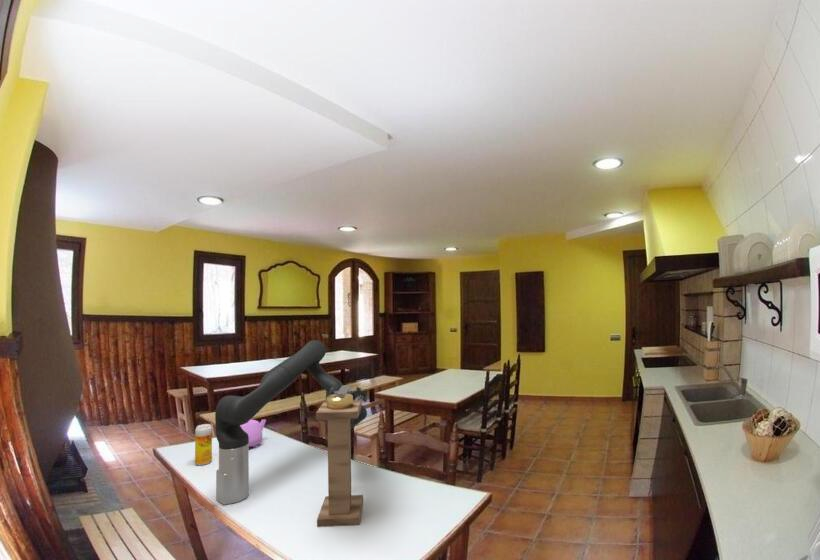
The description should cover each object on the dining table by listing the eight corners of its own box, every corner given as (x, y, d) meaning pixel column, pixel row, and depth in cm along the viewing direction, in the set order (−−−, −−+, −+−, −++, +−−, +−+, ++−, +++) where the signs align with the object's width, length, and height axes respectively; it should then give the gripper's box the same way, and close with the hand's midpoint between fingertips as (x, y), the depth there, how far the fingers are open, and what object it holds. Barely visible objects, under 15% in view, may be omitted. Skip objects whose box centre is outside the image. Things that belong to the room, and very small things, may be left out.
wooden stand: (325, 502, 129) (324, 401, 131) (363, 501, 130) (361, 400, 132) (317, 526, 115) (315, 413, 117) (359, 524, 116) (357, 411, 118)
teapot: (230, 456, 172) (230, 426, 173) (217, 450, 180) (217, 421, 180) (272, 443, 187) (272, 415, 188) (258, 438, 195) (258, 411, 196)
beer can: (204, 466, 162) (205, 428, 163) (191, 465, 163) (191, 427, 164) (215, 460, 168) (215, 423, 169) (202, 459, 169) (202, 423, 170)
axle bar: (335, 394, 141) (334, 385, 142) (357, 393, 142) (357, 385, 142) (324, 410, 121) (324, 399, 121) (351, 409, 121) (351, 399, 121)
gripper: (331, 394, 152) (324, 379, 139) (369, 393, 153) (365, 378, 139) (329, 414, 148) (322, 401, 135) (368, 413, 149) (365, 400, 135)
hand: (344, 389), depth 137 cm, fingers open, 8 cm apart
